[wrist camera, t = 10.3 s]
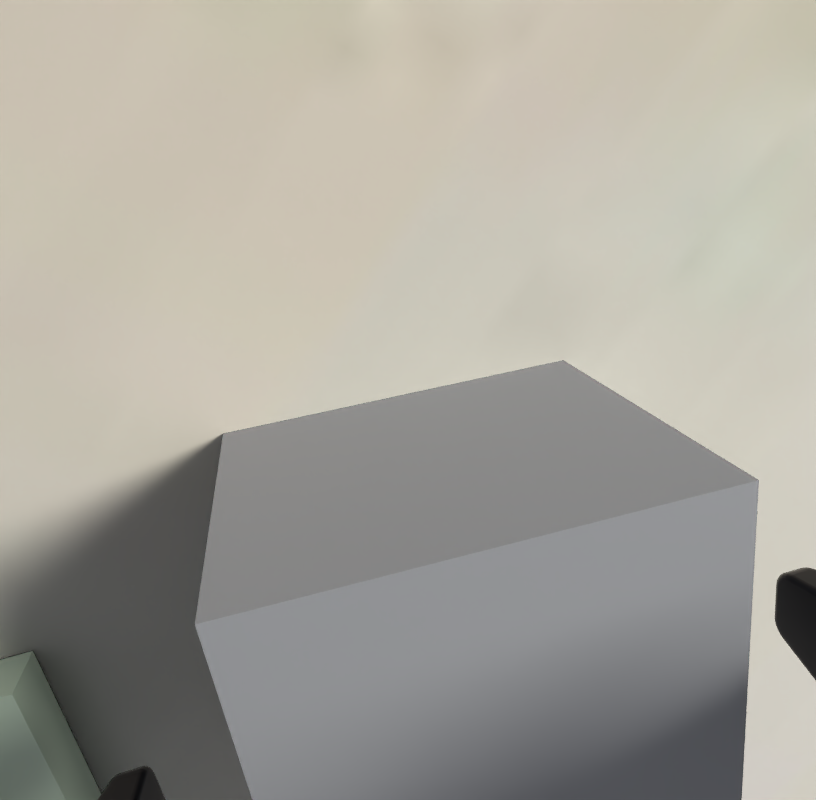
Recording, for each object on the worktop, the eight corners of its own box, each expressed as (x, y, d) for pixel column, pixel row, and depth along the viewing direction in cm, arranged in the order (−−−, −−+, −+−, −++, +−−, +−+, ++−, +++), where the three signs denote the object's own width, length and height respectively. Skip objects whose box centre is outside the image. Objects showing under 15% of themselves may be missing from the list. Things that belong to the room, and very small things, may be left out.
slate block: (577, 625, 14) (738, 854, 9) (297, 703, 13) (318, 1001, 8) (560, 358, 12) (758, 480, 7) (223, 430, 11) (194, 624, 6)
